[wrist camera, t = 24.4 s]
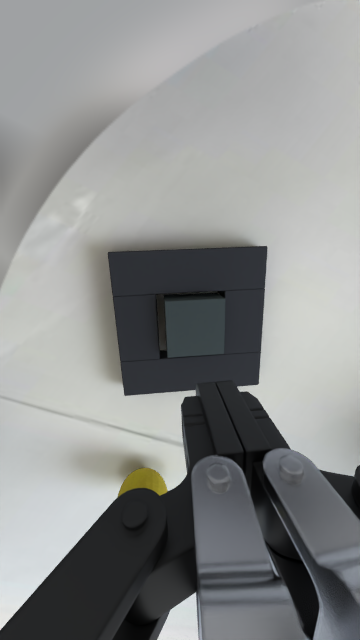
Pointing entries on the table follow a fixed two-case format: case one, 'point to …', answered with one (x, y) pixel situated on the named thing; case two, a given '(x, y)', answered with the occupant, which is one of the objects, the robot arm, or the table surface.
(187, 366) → the base pad
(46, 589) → the robot arm
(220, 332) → the dark grey square block
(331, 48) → the table surface
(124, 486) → the lemon
